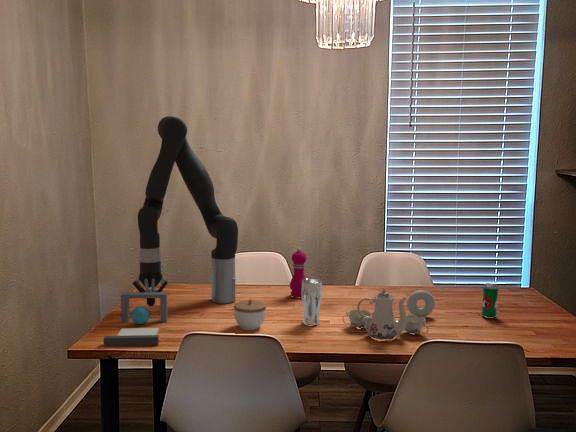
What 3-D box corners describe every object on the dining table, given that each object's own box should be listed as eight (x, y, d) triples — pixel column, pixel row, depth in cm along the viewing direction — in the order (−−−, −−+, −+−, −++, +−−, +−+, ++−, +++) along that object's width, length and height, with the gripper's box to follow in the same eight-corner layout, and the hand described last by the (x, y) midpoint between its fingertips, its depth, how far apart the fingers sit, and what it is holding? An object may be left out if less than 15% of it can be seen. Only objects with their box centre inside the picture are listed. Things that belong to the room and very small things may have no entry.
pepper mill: (305, 299, 217) (306, 249, 214) (287, 298, 218) (288, 248, 216) (308, 294, 224) (309, 246, 221) (291, 293, 225) (292, 245, 223)
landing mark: (159, 328, 180) (159, 327, 180) (153, 341, 169) (153, 340, 169) (121, 329, 179) (121, 328, 179) (113, 341, 168) (113, 341, 168)
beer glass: (323, 321, 190) (324, 279, 188) (318, 327, 183) (319, 284, 181) (304, 319, 192) (305, 277, 190) (298, 325, 185) (299, 282, 183)
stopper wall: (158, 342, 167) (158, 335, 167) (157, 345, 165) (157, 337, 165) (105, 343, 166) (105, 335, 166) (103, 346, 164) (103, 338, 164)
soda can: (497, 319, 194) (499, 286, 192) (482, 318, 195) (484, 286, 193) (495, 315, 199) (497, 283, 197) (480, 314, 200) (482, 282, 198)
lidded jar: (254, 334, 176) (254, 306, 174) (227, 329, 181) (227, 301, 180) (271, 325, 185) (272, 298, 184) (245, 320, 190) (245, 294, 189)
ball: (150, 324, 187) (151, 307, 188) (148, 322, 181) (148, 304, 183) (132, 325, 186) (133, 308, 188) (129, 323, 180) (130, 305, 182)
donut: (432, 315, 198) (433, 288, 196) (435, 318, 194) (436, 291, 193) (405, 315, 197) (406, 288, 196) (407, 318, 194) (409, 291, 192)
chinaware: (427, 335, 182) (429, 285, 182) (429, 347, 166) (431, 293, 166) (343, 328, 188) (345, 280, 188) (337, 339, 172) (339, 287, 172)
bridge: (123, 319, 189) (122, 292, 188) (167, 319, 190) (167, 292, 189) (121, 322, 186) (120, 294, 185) (166, 322, 187) (165, 294, 186)
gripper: (129, 261, 194) (130, 309, 196) (167, 261, 195) (168, 308, 197) (133, 257, 202) (134, 303, 204) (170, 257, 203) (170, 302, 205)
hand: (151, 305), depth 201 cm, fingers closed
